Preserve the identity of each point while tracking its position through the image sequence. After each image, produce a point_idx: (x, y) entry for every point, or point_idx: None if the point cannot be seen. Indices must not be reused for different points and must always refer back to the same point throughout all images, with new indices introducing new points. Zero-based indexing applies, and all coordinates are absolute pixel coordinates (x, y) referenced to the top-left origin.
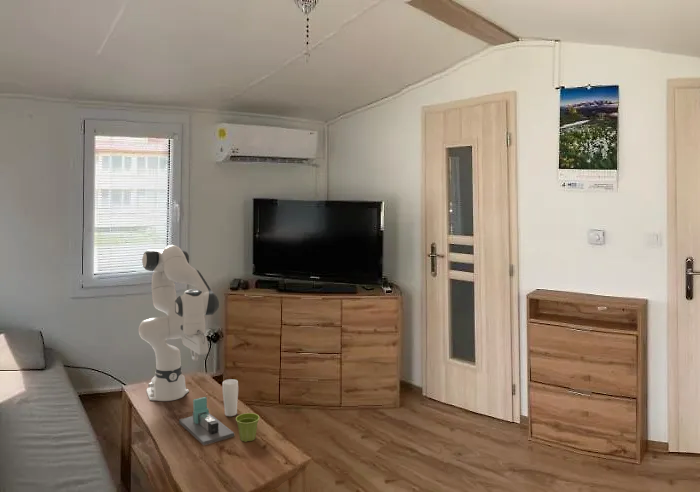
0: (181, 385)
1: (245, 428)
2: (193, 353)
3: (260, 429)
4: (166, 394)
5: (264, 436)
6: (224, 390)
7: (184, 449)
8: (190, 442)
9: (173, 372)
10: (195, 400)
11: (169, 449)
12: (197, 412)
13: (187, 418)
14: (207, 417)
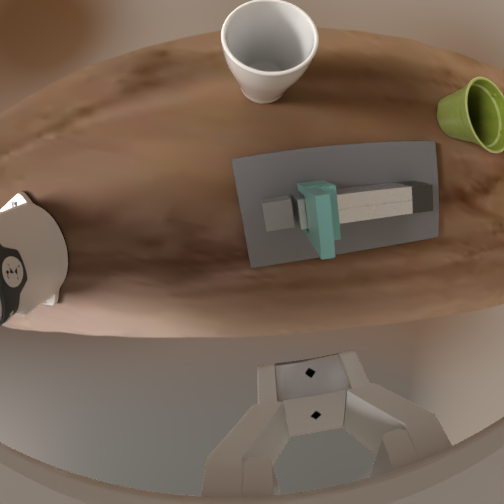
0: (22, 225)
1: (493, 135)
2: (273, 449)
3: (416, 60)
4: (53, 271)
5: (454, 78)
6: (288, 83)
7: (422, 280)
8: (400, 260)
9: (2, 276)
10: (334, 251)
11: (401, 311)
12: (339, 233)
13: (255, 241)
14: (378, 203)
